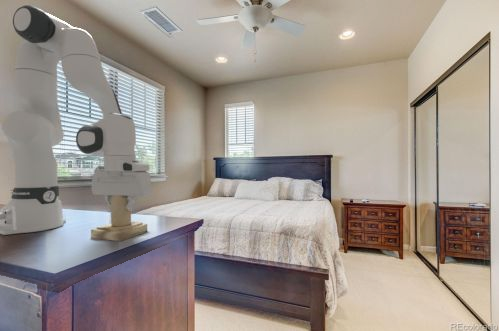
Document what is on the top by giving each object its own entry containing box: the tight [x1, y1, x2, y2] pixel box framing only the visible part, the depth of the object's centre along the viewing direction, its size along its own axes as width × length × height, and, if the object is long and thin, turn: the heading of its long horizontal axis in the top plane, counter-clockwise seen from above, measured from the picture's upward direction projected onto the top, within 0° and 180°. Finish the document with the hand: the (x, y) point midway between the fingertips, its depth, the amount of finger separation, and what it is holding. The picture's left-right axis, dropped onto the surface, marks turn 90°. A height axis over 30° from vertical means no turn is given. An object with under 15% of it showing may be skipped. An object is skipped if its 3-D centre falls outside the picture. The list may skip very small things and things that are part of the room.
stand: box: [90, 221, 148, 242], centre depth 77 cm, size 11×11×3 cm
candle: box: [110, 195, 132, 226], centre depth 78 cm, size 6×6×10 cm
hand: (120, 209), depth 77 cm, fingers closed on candle, 5 cm apart
